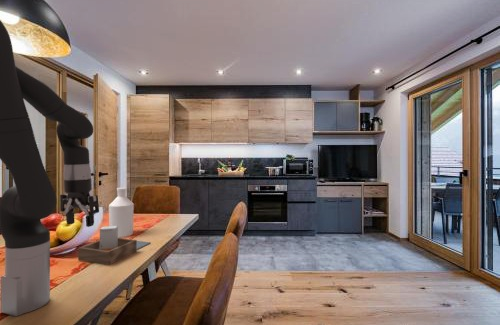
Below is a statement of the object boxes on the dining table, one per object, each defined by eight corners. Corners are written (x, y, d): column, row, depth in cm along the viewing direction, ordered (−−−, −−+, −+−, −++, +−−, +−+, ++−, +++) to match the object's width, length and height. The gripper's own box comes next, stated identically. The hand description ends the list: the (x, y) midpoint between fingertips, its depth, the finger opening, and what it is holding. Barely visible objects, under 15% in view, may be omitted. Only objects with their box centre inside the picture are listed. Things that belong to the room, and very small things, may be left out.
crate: (108, 265, 94) (108, 252, 94) (78, 260, 99) (78, 247, 99) (136, 251, 109) (136, 240, 109) (109, 247, 113) (109, 236, 113)
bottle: (120, 238, 126) (121, 189, 125) (103, 236, 130) (103, 188, 129) (138, 232, 137) (138, 187, 137) (121, 230, 141) (122, 186, 140)
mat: (137, 249, 110) (137, 248, 110) (120, 247, 113) (120, 246, 113) (150, 243, 119) (150, 242, 119) (135, 241, 122) (135, 240, 122)
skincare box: (99, 258, 101) (99, 229, 101) (102, 254, 105) (102, 226, 105) (115, 256, 102) (115, 228, 102) (118, 253, 107) (118, 225, 106)
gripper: (50, 178, 81) (53, 226, 82) (83, 179, 77) (86, 230, 78) (72, 175, 88) (75, 220, 89) (104, 176, 84) (106, 223, 85)
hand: (80, 225), depth 84 cm, fingers open, 8 cm apart
